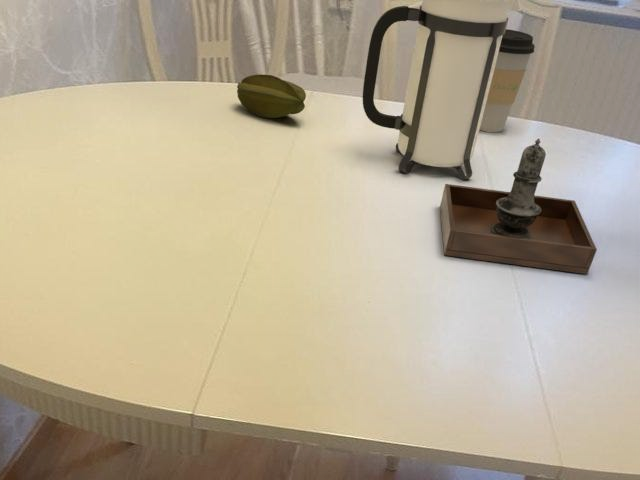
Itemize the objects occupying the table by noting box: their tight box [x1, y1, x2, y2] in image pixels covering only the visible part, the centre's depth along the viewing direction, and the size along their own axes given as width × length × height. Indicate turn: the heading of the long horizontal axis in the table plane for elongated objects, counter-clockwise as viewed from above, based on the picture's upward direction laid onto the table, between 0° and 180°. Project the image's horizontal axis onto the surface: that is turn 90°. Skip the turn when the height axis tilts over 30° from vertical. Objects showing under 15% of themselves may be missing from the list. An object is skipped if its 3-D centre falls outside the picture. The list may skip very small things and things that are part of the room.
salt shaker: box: [491, 138, 547, 239], centre depth 96 cm, size 6×6×12 cm
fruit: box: [236, 73, 307, 119], centre depth 130 cm, size 11×12×7 cm
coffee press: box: [362, 0, 522, 181], centre depth 110 cm, size 17×16×30 cm
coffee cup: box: [479, 28, 536, 133], centre depth 133 cm, size 9×9×15 cm
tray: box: [439, 183, 597, 275], centre depth 100 cm, size 18×16×3 cm
